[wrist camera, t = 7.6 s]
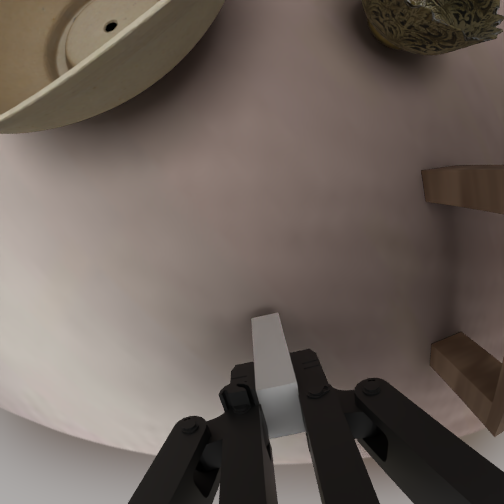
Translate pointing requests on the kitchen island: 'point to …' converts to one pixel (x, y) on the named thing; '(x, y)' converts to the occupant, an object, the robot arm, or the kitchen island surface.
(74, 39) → the planter bowl
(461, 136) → the kitchen island surface
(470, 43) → the green lump
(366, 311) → the kitchen island surface
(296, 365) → the robot arm
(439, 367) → the bridge
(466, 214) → the kitchen island surface
